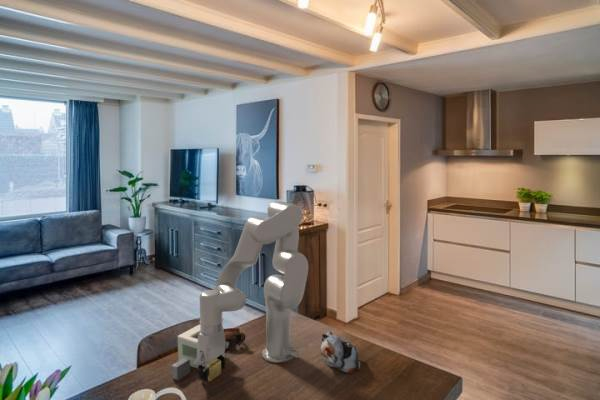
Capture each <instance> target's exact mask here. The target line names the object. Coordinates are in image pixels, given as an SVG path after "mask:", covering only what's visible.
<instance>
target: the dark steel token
mask: <svg viewBox="0 0 600 400" xmlns="http://www.w3.org/2000/svg"><path fill="white" fill-rule="evenodd" d="M190 373H191V366H190V359H188V358H183V359H181V360H180V361H177V362H175V363H173V364H171V377H172V380H175V381H179V380H181V379H182V378H183V377H185V376H188V374H190Z"/></svg>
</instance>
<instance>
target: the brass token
mask: <svg viewBox="0 0 600 400" xmlns="http://www.w3.org/2000/svg"><path fill="white" fill-rule="evenodd" d="M206 370H208V381H207V382H211V381H213V380H214V379H216V378H217V377H219V375H221V374H222V369H221V360H219V359H216V358H215V359H214V360H212V361H211V362H209V363H208V366H207V369H206Z"/></svg>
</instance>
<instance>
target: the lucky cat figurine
mask: <svg viewBox="0 0 600 400" xmlns="http://www.w3.org/2000/svg"><path fill="white" fill-rule="evenodd" d="M321 337H322V338H321V341H322V342H321V345H320V355H321V356H322V359H324V361H325V362H326V366H327V365H328V366H329V367H333V368H336V369H338V370H340V371H342V372H344V373H346V374H353V373H355V372H356V371H358V370H360V369H361V361H360V360H359V354H358V351H357V348H356V346H355V345H353V344H352V343H351V342H350V341H349V340H347V339H341V337H340V336H339V335H336V334H333V332H332V331H327V332H326V333H322V335H321Z"/></svg>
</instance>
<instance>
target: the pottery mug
mask: <svg viewBox="0 0 600 400" xmlns="http://www.w3.org/2000/svg"><path fill="white" fill-rule="evenodd" d="M223 329H224V334H225V341H226V342H229V345H228V348H227V350H237V346H238V347H240V346H241V345H242V344H243V343H244V342H245V341H246V338H247V337H246V334H245V333H244V332H241V330H240V328H238V327H230V328H228V327H227V328H223Z"/></svg>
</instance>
